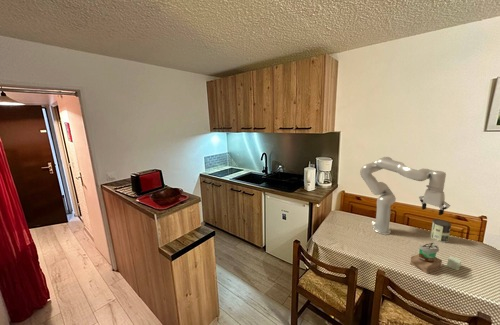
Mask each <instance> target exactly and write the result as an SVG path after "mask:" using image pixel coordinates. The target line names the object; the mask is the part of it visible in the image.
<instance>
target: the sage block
mask: <svg viewBox="0 0 500 325" xmlns="http://www.w3.org/2000/svg"><path fill="white" fill-rule="evenodd" d="M461 264H462V259H459V258H457V257H454V256H451V255H450V256H449V257H448V259H447V264H446V266H447V267H449V268H452V269H454V270H456V271H459V269H460V268H461Z"/></svg>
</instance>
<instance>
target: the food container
mask: <svg viewBox="0 0 500 325" xmlns="http://www.w3.org/2000/svg"><path fill="white" fill-rule="evenodd" d="M418 249H419V250H418V251H419V252H418V254H419V259H420V260H422V261H425V262H434V260H435V257H436V256H437V253H439V251H440V249H439V246H438V245H437V243H436V242H434V241H431V242H429V243H426V244H424V245H419V246H418Z"/></svg>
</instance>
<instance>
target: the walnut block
mask: <svg viewBox="0 0 500 325" xmlns="http://www.w3.org/2000/svg"><path fill="white" fill-rule="evenodd" d="M442 262H443V260H442V259H441V258H439V257H436V256H435V260H434V262H425V261H422V260H420V259H419V253H418V254H416V255H413V256H411V257H410V265H411V266H414V267H415V268H417V269H418V270H420V271H422V272H423V273H425V274H429V273H431V272H433V271H435V270H438V269H440V268H441V267H442ZM437 268H438V269H437ZM430 271H431V272H430Z"/></svg>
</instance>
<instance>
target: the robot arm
mask: <svg viewBox="0 0 500 325" xmlns="http://www.w3.org/2000/svg"><path fill="white" fill-rule="evenodd" d="M383 169H384V170H387V171H390V172H393V173H396V174H399V175H400V176H403V177H404V178H407V179H409V180H412V181H417V182H425V181H427V180H429V181H428V185H426V186H425V187H426V190H425V192H424V195H423V196H422V195H420V196H418V199H419V201H420V203H421V209H422V210H427V204H428V205H431V206H434V207H438V208H439V209H438V216H442V215H444V213H445V210H447V209H449V208H450V207H451V205H450V204H449V203H447V201H445V199H446V197H445V196H446V195H445V191H444V188H445V182H446V176H447V174H446V172H444V171H442V170H432V169H429V168H420V169H414V168H412V167H408V166H407V165H405V163H403V162H401V161H398V160H394V159H393V158H391V157H389V156H382V157H381V158H379V159H377V160H375V161H372V162H370V163H366V164H364V165H363V166H362V167H361V169H360V172H359V173H360V174H359V175H360V177H361V178H362V180H363V181H364V183H365V184H366V186H367V187H368V189H369V190H370V191H371V193H372V194H373V195H375V196H379V197H377V199H376V214H375V215H376V216H375V221H372V222H371V225H372V226H373V227H372V230H373V231H375V233H377V234H380V235H385V236H386V235H390V234H391V229H390V222H391V221H390V219H391V212H392V211H391V206H392V205H393V204H395V203H396V201H397V200H396V199H397V198H396V196H395V194H394V192H392V190H391V188H390V187H389V186H388V185H387V184H386V183H385V182H383V181H379V180H377V178H376V177H375V176H374V175H373V173H375V172H379V171H381V170H383Z"/></svg>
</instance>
